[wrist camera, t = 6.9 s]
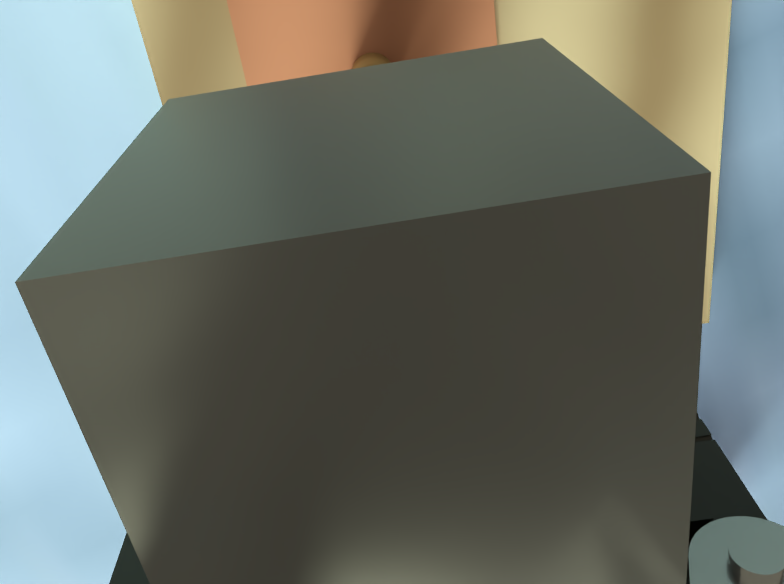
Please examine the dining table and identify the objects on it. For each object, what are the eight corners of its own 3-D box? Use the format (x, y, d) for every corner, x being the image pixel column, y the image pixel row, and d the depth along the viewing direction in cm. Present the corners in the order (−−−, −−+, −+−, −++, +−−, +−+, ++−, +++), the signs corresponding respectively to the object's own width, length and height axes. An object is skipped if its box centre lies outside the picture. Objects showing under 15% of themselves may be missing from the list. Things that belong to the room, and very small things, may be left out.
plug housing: (542, 37, 9) (710, 172, 5) (570, 600, 14) (666, 910, 10) (168, 99, 10) (14, 281, 5) (326, 634, 15) (316, 956, 10)
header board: (719, -193, 20) (825, -214, 15) (691, 300, 27) (757, 382, 22) (120, -92, 20) (56, -85, 16) (252, 365, 27) (232, 458, 23)
